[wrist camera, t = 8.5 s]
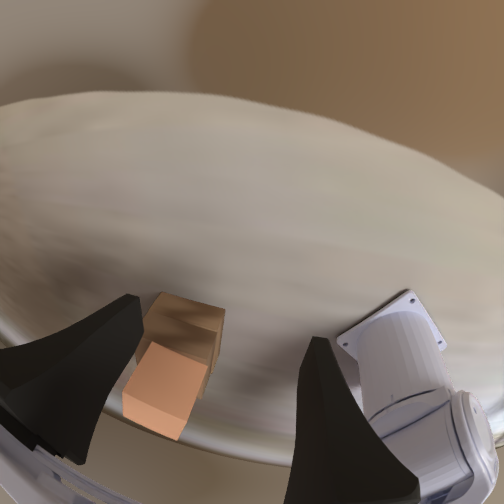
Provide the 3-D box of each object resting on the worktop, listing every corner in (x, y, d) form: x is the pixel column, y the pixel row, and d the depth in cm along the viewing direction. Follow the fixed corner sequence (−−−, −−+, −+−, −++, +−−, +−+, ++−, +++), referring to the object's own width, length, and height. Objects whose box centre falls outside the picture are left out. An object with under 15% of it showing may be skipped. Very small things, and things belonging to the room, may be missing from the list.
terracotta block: (208, 366, 19) (186, 421, 15) (195, 393, 21) (176, 440, 17) (152, 341, 19) (122, 391, 15) (147, 371, 21) (123, 415, 17)
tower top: (217, 332, 21) (207, 359, 19) (210, 374, 24) (201, 399, 22) (148, 310, 22) (132, 333, 19) (151, 354, 25) (139, 376, 22)
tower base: (226, 307, 24) (217, 330, 21) (219, 351, 27) (212, 373, 24) (162, 290, 24) (148, 310, 22) (164, 335, 27) (153, 355, 25)
